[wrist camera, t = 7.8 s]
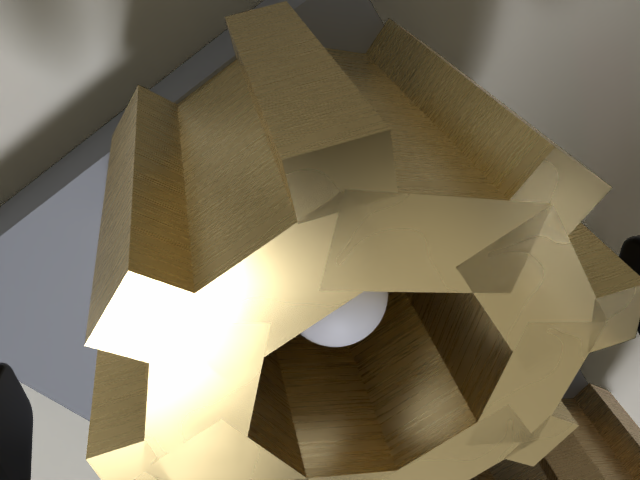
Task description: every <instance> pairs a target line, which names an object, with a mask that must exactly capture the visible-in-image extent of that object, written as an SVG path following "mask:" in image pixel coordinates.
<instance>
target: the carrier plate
mask: <svg viewBox="0 0 640 480" xmlns="http://www.w3.org/2000/svg"><path fill="white" fill-rule="evenodd" d="M284 1H287V2H288V3H289V5H290V6H291V7H292V8H293V10H294V11H295V12H296V13H297V14H298V16H299V17H300V18H301V19H302V21H303V22H304V23H305V24H306V26H307V27H308V28H309V29H310V31H311V32H312V33H313V34H314V36H315V37H316V38H317V39H318V40H319V42H320V43H321V44H322V45H323V47H324V48H331V49H338V50H345V51H352V52H359V53H366V52H367V50H368V49H369V47H370V46H371V44H372V43H373V41H374V40H375V38H376V37H377V35H378V34H379V32H380V31H381V29H382V28H383V26H384V24H383V23H382V21H381V19H380V17H379V16H378V14H377V12H376V10H375V9H374V7H373V5H372V3H371V2H370V0H264V1H262V2H261V3H260V4H259V5H257V6H256V7H255V8H254V9H257V8H261V7H265V6H269V5H272V4H276V3H280V2H284ZM252 10H253V9H252ZM235 59H236V56H235V52H234V49H233V45H232V41H231V38H230V34H229V30H228V29H227V30H225V31H224V32H223V33H222V34H220V35H219V36H218V37H216V38H215V39H214V40H213V41H211V42H210V43H209V44H208V45H206V46H205V47H204V48H202V49H201V50H200V51H199V52H197V53H196V54H195V55H193V56H192V57H191V58H190V59H188V60H187V61H186V62H185V63H183V64H182V65H181V66H179V67H178V68H177V69H176V70H174V71H173V72H172V73H170V74H169V75H168V76H167V77H165V78H164V79H163V80H162V81H160V82H159V83H158V84H156V85H155V86H154V87H153V88H151V89H150V91H152V92H154V93H156V94H158V95H160V96H162V97H164V98H166V99H168V100H170V101H172V102H174V103H176V104H178V103H179V102H181V101H182V100H183V99H184V98H186V97H187V96H188V95H190V94H191V93H192V92H194V91H195V90H196V89H198V88H199V87H200V86H201V85H203V84H204V83H205V82H207V81H208V80H209V79H211V78H212V77H213V76H214V75H216V74H217V73H218V72H220V71H221V70H222V69H224V68H225V67H226V66H228V65H229V64H230V63H231V62H233V61H234V60H235ZM124 111H125V109H124V110H123V111H122V112H121V113H119V114H118V115H117V116H116V117H114V118H113V119H112V120H110V121H109V122H108V123H107V124H105V125H104V126H103V127H101V128H100V129H99V130H98V131H96V132H95V133H94V134H93V135H91V136H90V137H89V138H87V139H86V140H85V141H84V142H82V143H81V144H80V145H78V146H77V147H76V148H75V149H73V150H72V151H71V152H70V153H68V154H67V155H66V156H64V157H63V158H62V159H61V160H59V161H58V162H57V163H55V164H54V165H53V166H52V167H50V168H49V169H48V170H47V171H45V172H44V173H43V174H41V175H40V176H39V177H38V178H36V179H35V180H34V181H32V182H31V183H30V184H29V185H27V186H26V187H25V188H24V189H22V190H21V191H20V192H18V193H17V194H16V195H15V196H13V197H12V198H11V199H9V200H8V201H7V202H6V203H4V204H3V205H2V206H1V207H0V363H1V362H3V363H7V364H8V365H9V366H10V367H11V368H12V369H13V371H14V373H15V375H16V377H17V379H18V380H19V381H20V382H21V383H23V384H25V385H27V386H28V387H30V388H32V389H34V390H36V391H37V392H39V393H41V394H43V395H44V396H46V397H48V398H50V399H51V400H53V401H55V402H57V403H58V404H60V405H62V406H64V407H65V408H67V409H69V410H71V411H72V412H74V413H76V414H78V415H79V416H81V417H83V418H85V419H87V420H88V421H90V416H91V407H92V397H93V388H94V378H95V369H96V359H97V350H98V349H95V348H92V347H88V346H84V345H85V338H86V330H87V322H88V315H89V307H90V300H91V292H92V284H93V277H94V269H95V262H96V254H97V246H98V239H99V231H100V224H101V216H102V209H103V201H104V193H105V186H106V178H107V171H108V163H109V155H110V148H111V140H112V135H113V133H114V131H115V129H116V127H117V125H118V123H119V121H120V119H121V117H122V115H123V113H124ZM387 302H388V292H366V291H364V292H362V293H361V294H359V295H358V296H356V297H355V298H353V299H352V300H350V301H349V302H347V303H346V304H344V305H343V306H341V307H339V308H338V309H336V310H335V311H333V312H332V313H330V314H329V315H327V316H326V317H324V318H323V319H321V320H320V321H318V322H317V323H315V324H314V325H312V326H311V327H309V328H308V329H306V330H305V331H303V332H302V333H300V334H301V335H302V336H303V337H305V338H306V339H308V340H309V341H311V342H314V343H316V344H319V345H322V346H328V347H343V346H348V345H351V344H354V343H356V342H359V341H361V340H362V339H364V338H365V337H367V336H368V335H369V334H370V333H372V331H373V330H374V329H375V328H376V327H377V326H378V324H379V323H380V321H381V319H382V317H383V315H384V313H385V310H386V306H387ZM587 385H588V383H587V381H586V379H585V377H584V376H583V374H582V372H581V370H580V369H579V371H578V372H577V374H576V376H575V377H574V379H573V381H572V382H571V384H570V386H569V387H568V389H567V391H566V392H565V394H564V396H563V397H562V399H564V398H574V397H575V396H576V395H577V394H578V393H579V392H580V391H581V390H582V389H583V388H584V387H586V386H587Z"/></svg>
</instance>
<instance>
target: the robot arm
mask: <svg viewBox="0 0 640 480" xmlns="http://www.w3.org/2000/svg"><path fill="white" fill-rule="evenodd" d="M619 258H620V259H621V260H623V261H624V262H625V263H626V264H627V265H628V266H629V267H630V268H631V269H633V270H634V271H635V272H636V273H637V274H638V275H639V276H640V235H637V236H632V237H630V238H628V239H627V240H626V241H625V242H624V243H623V245H622V248H621V251H620V255H619ZM637 331H638V332H639V334H640V319H639V324H638V329H637ZM32 433H33V413H32V407H31V404H30V402H29V399H28V398H27V396H26V394H25V392H24V390H23V388H22V386H21V384H20V382H19V380H18V379H17V377H16V375H15V373H14V371H13V369H12V368H11V367H10V366H9V365H8V364H7V363H3V362H1V363H0V480H31V458H32Z"/></svg>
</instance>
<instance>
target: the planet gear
mask: <svg viewBox="0 0 640 480" xmlns="http://www.w3.org/2000/svg"><path fill="white" fill-rule="evenodd" d="M225 20H226V23H227V27H228V30H229V34H230V38H231V41H232V45H233V49H234V52H235V56H236V59H235V60H234V61H233V62H231V63H230V64H229V65H228V66H226V67H225V68H224V69H222V70H221V71H220V72H218V73H217V74H216V75H214V76H213V77H212V78H211V79H209V80H208V81H207V82H205V83H204V84H203V85H201V86H200V87H199V88H198V89H196V90H195V91H194V92H192V93H191V94H190V95H188V96H187V97H186V98H184V99H183V100H182V101H181V102H179V103H178V104H176V103H174V102H172V101H170V100H168V99H166V98H164V97H162V96H160V95H158V94H156V93H154V92H152V91H150V90H148V89H146V88H144V87H142V86H140V85H138V86H137V88H136V90H135V92H134V94H133V96H132V98H131V100H130V102H129V104H128V106H127V107H126V109H125V111H124V113H123V115H122V117H121V119H120V121H119V123H118V125H117V127H116V129H115V131H114V133H113V135H112V140H111V148H110V155H109V163H108V171H107V178H106V186H105V193H104V201H103V209H102V216H101V224H100V231H99V239H98V246H97V254H96V262H95V269H94V277H93V284H92V292H91V300H90V307H89V315H88V322H87V330H86V338H85V345H84V346H88V347H92V348H95V349H98V350H97V359H96V369H95V378H94V388H93V397H92V407H91V416H90V426H89V435H88V445H87V454H86V460H87V461H88V463H89V464H90V465H91V467H92V468H93V469H94V471H95V472H96V473H97V475H98V476H99V477H100V479H101V480H470V479H471V478H473V477H475V476H477V475H478V474H480V473H482V472H483V471H485V470H487V469H489V468H490V467H492V466H494V465H495V464H497V463H499V462H501V461H502V460H504V459H507V460H511V461H515V462H518V463H522V464H526V465H529V466H533V467H534V466H535V465H536V464H537V463H538V462H539V461H540V460H541V459H542V458H544V457H545V456H546V455H547V454H548V453H549V452H550V451H551V450H552V449H554V448H555V447H556V446H557V445H558V444H559V443H560V442H561V441H563V440H564V439H565V438H566V437H567V436H568V435H569V434H570V433H571V432H573V431H574V430H575V429H576V428H577V427H578V426H579V425H578V423H577V422H576V421H575V419H574V418H573V416H572V415H571V414H570V412H569V411H568V409H567V408H566V407H565V405H564V404H563V403H562V401H561V399H562V397H563V396H564V394H565V392H566V391H567V389H568V387H569V386H570V384H571V382H572V381H573V379H574V377H575V376H576V374H577V372H578V371H579V369H580V367H581V366H582V364H583V362H584V361H585V359H586V357H587V356H588V354H589V353H591V352H594V351H597V350H600V349H603V348H606V347H610V346H613V345H616V344H619V343H622V342H625V341H628V340H631V339H634V338H636V334H637V329H638V324H639V319H640V276H639V275H638V274H637V273H636V272H635V271H634V270H633V269H631V268H630V267H629V266H628V265H627V264H626V263H625V262H624V261H623V260H621V259H620V258H619V257H618V256H617V255H616V254H615V253H614V252H613V251H612V250H610V249H609V248H608V247H607V246H606V245H605V244H604V243H603V242H602V241H601V240H599V239H598V238H597V237H596V236H595V235H594V234H593V233H592V232H591V231H589V230H588V229H587V228H586V227H585V226H584V225H583V224H582V223H581V221H582V220H583V219H584V218H585V217H586V216H587V215H588V214H589V213H590V211H591V210H592V209H593V208H594V207H595V206H596V205H597V204H598V203H599V202H600V201H601V200H602V199H603V198H604V196H605V195H606V194H607V193H608V192H609V191H610V190H611V189H612V188H613V187H611V186H610V185H609V184H607V183H606V182H605V181H603V180H602V179H601V178H600V177H598V176H597V175H596V174H594V173H593V172H592V171H590V170H589V169H588V168H586V167H585V166H584V165H583V164H581V163H580V162H579V161H577V160H576V159H575V158H573V157H572V156H571V155H570V154H568V153H567V152H566V151H564V150H563V149H562V148H560V147H559V146H558V145H556V144H555V143H554V142H553V141H551V140H550V139H549V138H547V137H546V136H545V135H543V134H542V133H541V132H540V131H538V130H537V129H536V128H534V127H533V126H532V125H530V124H529V123H528V122H526V121H525V120H524V119H523V118H521V117H520V116H519V115H517V114H516V113H515V112H513V111H512V110H511V109H510V108H508V107H507V106H506V105H504V104H503V103H502V102H500V101H499V100H498V99H496V98H495V97H494V96H493V95H491V94H490V93H489V92H487V91H486V90H485V89H483V88H482V87H481V86H480V85H478V84H477V83H476V82H474V81H473V80H472V79H470V78H469V77H468V76H466V75H465V74H464V73H463V72H461V71H460V70H459V69H457V68H456V67H455V66H453V65H452V64H451V63H450V62H448V61H447V60H446V59H444V58H443V57H442V56H440V55H439V54H438V53H436V52H435V51H434V50H433V49H431V48H430V47H428V46H427V45H426V44H424V43H423V42H421V41H420V40H419V39H417V38H416V37H414V36H413V35H412V34H410V33H409V32H408V31H406V30H405V29H403V28H402V27H401V26H399V25H398V24H396V23H395V22H394V21H392V20H391V19H388V20H387V22H386V23H385V25H384V26H383V28H382V29H381V31H380V32H379V34H378V35H377V37H376V38H375V40H374V41H373V43H372V44H371V46H370V47H369V49H368V50H367V52H366V53H359V52H352V51H345V50H338V49H331V48H324V47H323V45H322V44H321V43H320V42H319V40H318V39H317V38H316V37H315V36H314V34H313V33H312V32H311V31H310V29H309V28H308V27H307V26H306V24H305V23H304V22H303V21H302V19H301V18H300V17H299V16H298V14H297V13H296V12H295V11H294V10H293V8H292V7H291V6H290V5H289V3H288V2H287V1H284V2H280V3H276V4H272V5H269V6H265V7H261V8H257V9H253V10H249V11H245V12H241V13H238V14H234V15H230V16H226V17H225ZM364 291H366V292H388V302H387V306H386V310H385V313H384V315H383V317H382V319H381V321H380V323H379V324H378V326H377V327H376V328H375V329H374V330H373V331H372V333H370V334H369V335H368V336H367V337H365V338H364V339H362V340H361V341H359V342H356V343H354V344H351V345H348V346H343V347H328V346H322V345H319V344H316V343H314V342H311V341H309V340H308V339H306V338H305V337H303V336H302V335H301V334H300V333H302V332H303V331H305V330H306V329H308V328H309V327H311V326H312V325H314V324H315V323H317V322H318V321H320V320H321V319H323V318H324V317H326V316H327V315H329V314H330V313H332V312H333V311H335V310H336V309H338V308H339V307H341V306H343V305H344V304H346V303H347V302H349V301H350V300H352V299H353V298H355V297H356V296H358V295H359V294H361V293H362V292H364Z"/></svg>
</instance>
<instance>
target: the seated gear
mask: <svg viewBox="0 0 640 480" xmlns="http://www.w3.org/2000/svg"><path fill="white" fill-rule="evenodd" d="M561 401H562V403H563V404H564V405H565V407H566V408H567V409H568V411H569V412H570V414H571V415H572V416H573V418H574V419H575V421H576V422H577V423H578V425H579V426H578V427H577V428H576V429H575V430H574V431H573V432H571V433H570V434H569V435H568V436H567V437H566V438H565V439H564V440H563V441H561V442H560V443H559V444H558V445H557V446H556V447H555V448H554V449H552V450H551V451H550V452H549V453H548V454H547V455H546V456H545V457H544V458H542V459H541V460H540V461H539V462H538V463H537V464H536V465H535V466H534V467H533V466H529V465H526V464H522V463H518V462H515V461H511V460H507V459H504V460H502V461H501V462H499V463H497V464H495V465H494V466H492V467H490V468H489V469H487V470H485V471H483V472H482V473H480V474H478V475H477V476H475V477H473V478H471V479H470V480H640V428H639V427H638V426H637V425H636V423H635V422H634V421H633V420H632V418H631V417H630V416H629V415H628V414H627V412H626V411H625V410H624V409H623V407H622V406H621V405H620V404H619V403H618V401H617V400H616V399H615V398H614V397H613V395H612V394H611V393H610V392H609V391H608V390H606V389H603V388H601V387H598V386H596V385H593V384H591V383H589V384H588V385H587V386H586V387H584V388H583V389H582V390H581V391H580V392H579V393H578V394H577V395H576V396H575V397H574V398H564V399H561Z"/></svg>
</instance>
